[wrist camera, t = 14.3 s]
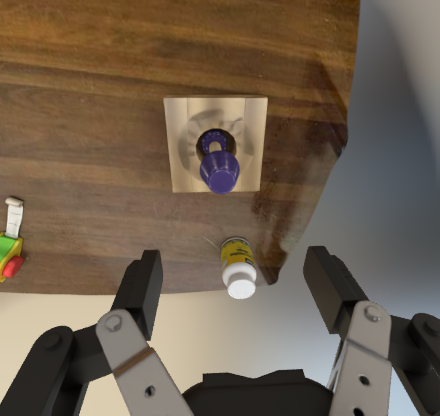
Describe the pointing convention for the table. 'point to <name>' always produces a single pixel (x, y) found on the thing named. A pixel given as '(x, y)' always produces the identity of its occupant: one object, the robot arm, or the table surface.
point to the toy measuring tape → (11, 241)
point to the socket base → (207, 119)
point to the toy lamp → (218, 163)
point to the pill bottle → (238, 268)
